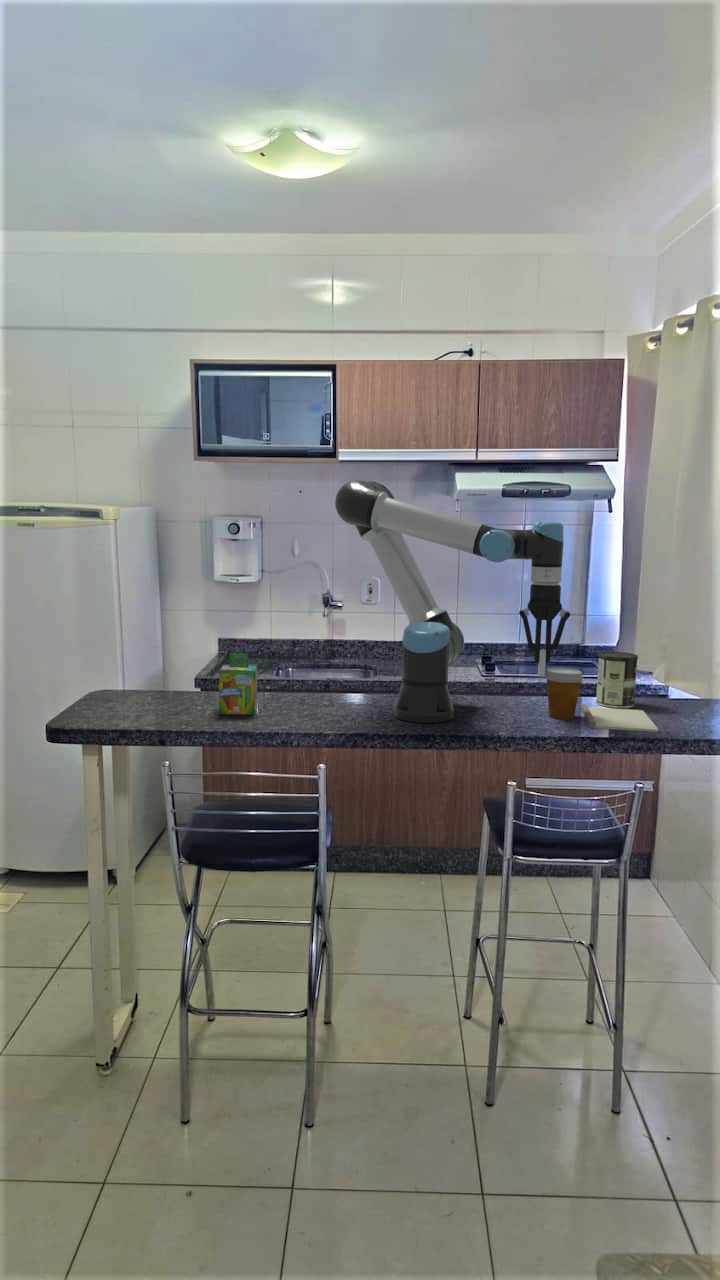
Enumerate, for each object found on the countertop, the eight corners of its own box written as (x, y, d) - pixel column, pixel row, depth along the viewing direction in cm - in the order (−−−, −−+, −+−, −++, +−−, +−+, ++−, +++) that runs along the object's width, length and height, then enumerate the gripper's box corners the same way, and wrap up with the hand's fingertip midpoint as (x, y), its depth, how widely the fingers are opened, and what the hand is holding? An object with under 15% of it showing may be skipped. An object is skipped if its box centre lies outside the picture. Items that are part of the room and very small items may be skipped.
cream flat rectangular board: (590, 728, 195) (590, 722, 195) (580, 708, 215) (581, 703, 215) (658, 732, 193) (659, 726, 193) (642, 712, 212) (643, 706, 212)
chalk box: (218, 715, 200) (218, 657, 197) (222, 707, 209) (221, 651, 206) (255, 715, 200) (255, 657, 198) (257, 707, 209) (257, 651, 207)
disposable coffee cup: (574, 712, 211) (577, 668, 209) (585, 721, 201) (588, 675, 199) (538, 711, 211) (541, 667, 209) (547, 721, 201) (550, 674, 199)
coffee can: (626, 700, 226) (630, 651, 224) (639, 709, 216) (643, 658, 214) (590, 699, 226) (593, 650, 224) (601, 708, 216) (605, 657, 214)
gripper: (520, 584, 199) (516, 677, 202) (573, 585, 197) (568, 679, 200) (518, 581, 206) (515, 671, 210) (570, 583, 204) (566, 673, 208)
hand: (541, 675), depth 205 cm, fingers closed
